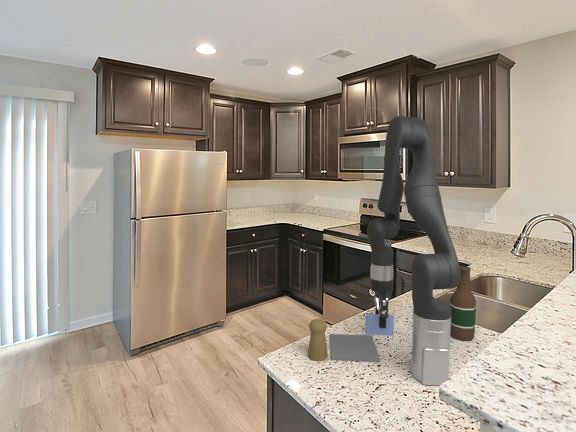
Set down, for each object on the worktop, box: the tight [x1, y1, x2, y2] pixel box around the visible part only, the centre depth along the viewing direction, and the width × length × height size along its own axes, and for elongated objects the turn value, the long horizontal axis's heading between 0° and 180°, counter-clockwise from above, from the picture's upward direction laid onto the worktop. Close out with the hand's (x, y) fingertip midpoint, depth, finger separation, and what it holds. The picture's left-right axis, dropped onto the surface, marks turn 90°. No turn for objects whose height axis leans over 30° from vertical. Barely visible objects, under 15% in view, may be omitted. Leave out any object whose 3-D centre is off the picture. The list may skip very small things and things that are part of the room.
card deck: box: [365, 313, 395, 336], centre depth 117 cm, size 2×9×6 cm, turn 85°
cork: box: [307, 318, 329, 362], centre depth 102 cm, size 6×6×11 cm
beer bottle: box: [449, 265, 477, 342], centre depth 114 cm, size 8×8×24 cm
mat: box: [329, 333, 381, 363], centre depth 107 cm, size 16×14×1 cm
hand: (380, 322), depth 118 cm, fingers open, 8 cm apart
